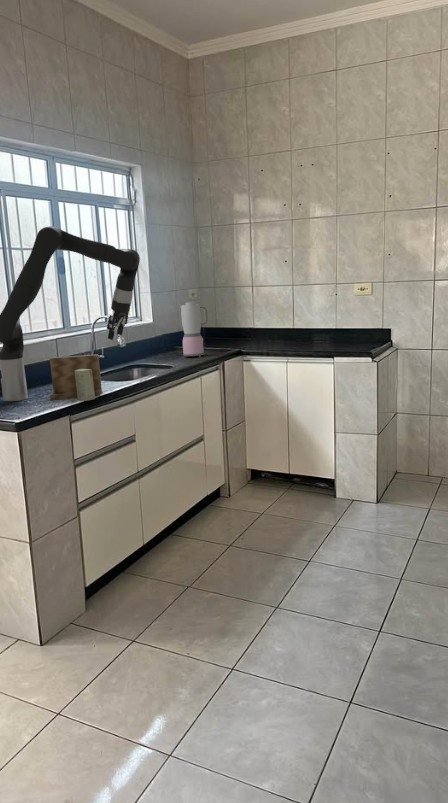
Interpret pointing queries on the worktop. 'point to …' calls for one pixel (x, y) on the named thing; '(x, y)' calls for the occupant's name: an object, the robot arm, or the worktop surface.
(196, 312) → the blender
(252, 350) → the worktop surface
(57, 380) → the wall board
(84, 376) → the skincare box
